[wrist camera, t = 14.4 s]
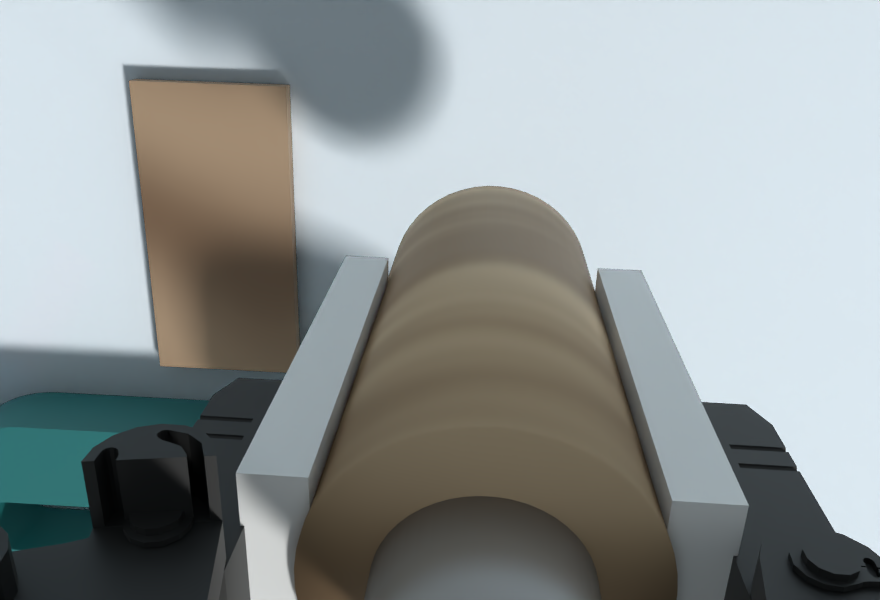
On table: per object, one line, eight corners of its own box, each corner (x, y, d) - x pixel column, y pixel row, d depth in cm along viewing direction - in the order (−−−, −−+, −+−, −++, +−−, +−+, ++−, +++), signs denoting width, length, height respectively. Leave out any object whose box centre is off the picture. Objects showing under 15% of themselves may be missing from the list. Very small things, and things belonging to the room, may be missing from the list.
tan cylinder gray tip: (400, 175, 16) (236, 542, 6) (601, 197, 16) (790, 609, 6) (387, 354, 17) (239, 889, 7) (570, 375, 17) (673, 946, 7)
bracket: (543, 414, 24) (568, 606, 16) (527, 595, 26) (542, 831, 19) (-48, 383, 24) (-275, 554, 17) (-9, 562, 27) (-193, 777, 20)
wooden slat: (135, 78, 21) (128, 80, 20) (289, 84, 20) (285, 86, 20) (215, 827, 31) (212, 837, 30) (318, 835, 31) (316, 845, 30)
